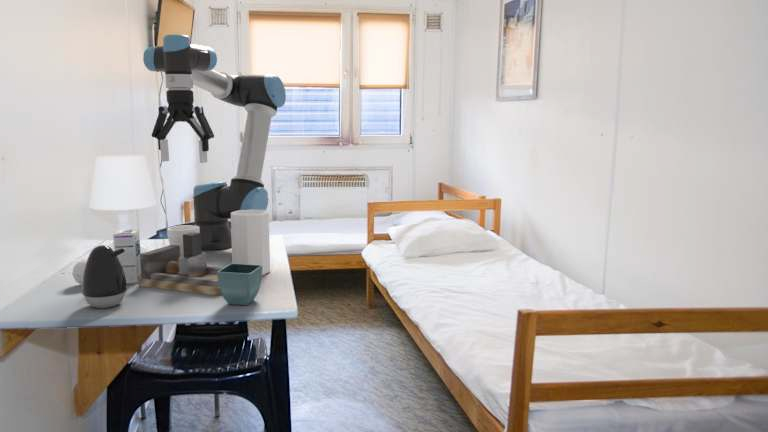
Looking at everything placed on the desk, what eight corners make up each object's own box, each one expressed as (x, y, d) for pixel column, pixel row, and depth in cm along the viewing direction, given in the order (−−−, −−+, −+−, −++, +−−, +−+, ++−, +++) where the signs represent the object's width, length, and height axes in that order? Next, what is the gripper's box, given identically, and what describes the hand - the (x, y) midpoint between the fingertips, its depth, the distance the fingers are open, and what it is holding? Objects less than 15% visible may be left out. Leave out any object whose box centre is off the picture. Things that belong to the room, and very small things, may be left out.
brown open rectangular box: (139, 285, 170) (137, 254, 169) (172, 273, 183) (170, 244, 182) (218, 295, 161) (217, 262, 160) (247, 282, 174) (246, 251, 173)
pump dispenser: (120, 311, 148) (116, 249, 146) (76, 312, 147) (71, 250, 145) (134, 298, 158) (130, 241, 156) (92, 299, 157) (88, 241, 155)
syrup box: (138, 283, 173) (135, 232, 170) (116, 284, 172) (112, 233, 169) (142, 278, 178) (139, 229, 176) (121, 278, 177) (118, 229, 175)
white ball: (105, 280, 175) (103, 255, 174) (99, 287, 168) (97, 261, 167) (67, 282, 173) (65, 257, 172) (59, 289, 166) (57, 263, 165)
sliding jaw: (179, 278, 168) (177, 236, 166) (198, 271, 176) (196, 230, 174) (188, 279, 167) (186, 236, 165) (207, 272, 175) (205, 231, 173)
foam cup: (191, 273, 183) (189, 231, 181) (163, 272, 185) (161, 229, 183) (206, 266, 192) (204, 225, 190) (179, 265, 194) (177, 224, 192)
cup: (267, 277, 180) (266, 214, 177) (229, 277, 179) (227, 215, 176) (272, 267, 191) (270, 209, 188) (235, 268, 190) (233, 209, 187)
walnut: (171, 272, 177) (170, 258, 176) (182, 273, 175) (182, 260, 175) (162, 275, 173) (161, 261, 172) (173, 277, 172) (173, 263, 171)
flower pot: (251, 308, 150) (250, 273, 149) (217, 306, 152) (216, 271, 150) (264, 298, 159) (263, 264, 158) (231, 296, 160) (230, 263, 159)
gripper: (135, 89, 180) (141, 161, 184) (208, 88, 172) (212, 164, 176) (152, 90, 187) (157, 159, 191) (223, 89, 179) (227, 161, 183)
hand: (184, 162), depth 184 cm, fingers open, 13 cm apart
